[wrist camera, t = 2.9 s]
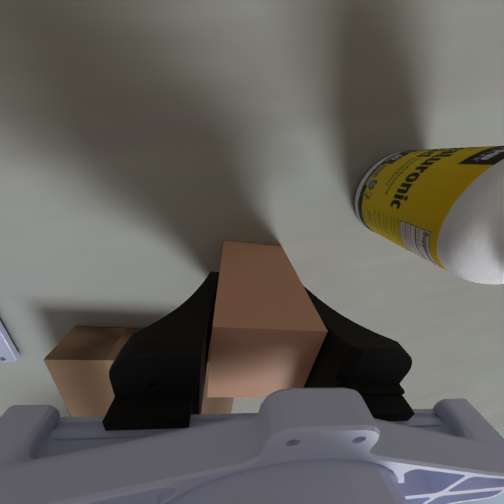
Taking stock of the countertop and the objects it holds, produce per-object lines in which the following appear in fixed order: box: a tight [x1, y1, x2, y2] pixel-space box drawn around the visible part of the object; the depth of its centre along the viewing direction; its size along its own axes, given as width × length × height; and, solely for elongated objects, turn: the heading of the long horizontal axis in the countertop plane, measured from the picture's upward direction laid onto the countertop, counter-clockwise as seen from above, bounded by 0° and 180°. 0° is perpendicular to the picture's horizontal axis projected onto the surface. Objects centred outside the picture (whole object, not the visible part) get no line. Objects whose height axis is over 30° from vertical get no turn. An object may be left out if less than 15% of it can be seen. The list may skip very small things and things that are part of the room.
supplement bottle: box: [355, 146, 504, 284], centre depth 9 cm, size 5×5×10 cm
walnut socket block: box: [44, 326, 234, 417], centre depth 19 cm, size 14×14×3 cm
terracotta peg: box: [207, 241, 328, 398], centre depth 12 cm, size 4×4×8 cm
